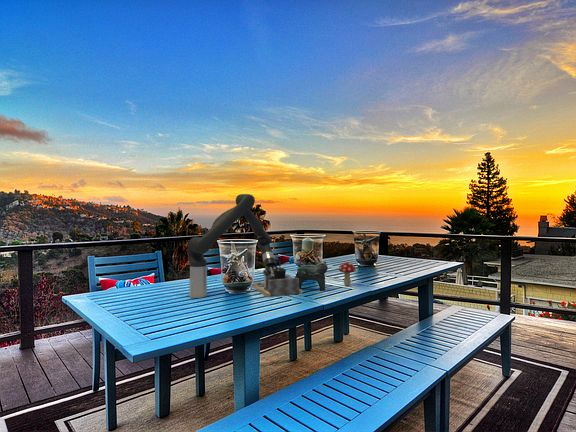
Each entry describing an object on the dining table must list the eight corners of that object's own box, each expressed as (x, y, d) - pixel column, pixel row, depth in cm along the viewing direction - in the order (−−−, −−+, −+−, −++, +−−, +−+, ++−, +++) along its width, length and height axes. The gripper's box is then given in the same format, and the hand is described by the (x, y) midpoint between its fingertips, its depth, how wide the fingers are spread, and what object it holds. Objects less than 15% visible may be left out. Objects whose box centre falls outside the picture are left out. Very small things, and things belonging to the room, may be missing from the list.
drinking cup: (281, 294, 198) (281, 260, 197) (270, 292, 202) (270, 259, 201) (288, 291, 204) (288, 258, 204) (277, 290, 208) (278, 257, 208)
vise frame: (266, 297, 191) (266, 281, 191) (251, 286, 220) (251, 272, 220) (302, 293, 200) (302, 278, 199) (282, 283, 228) (282, 269, 228)
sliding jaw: (265, 292, 202) (265, 276, 202) (264, 290, 205) (264, 276, 205) (290, 289, 208) (290, 275, 208) (288, 288, 211) (288, 274, 211)
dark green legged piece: (327, 289, 211) (327, 257, 211) (327, 291, 205) (327, 258, 204) (295, 288, 213) (295, 256, 213) (294, 291, 207) (294, 258, 206)
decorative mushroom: (359, 286, 220) (359, 263, 220) (347, 288, 213) (347, 264, 213) (347, 283, 229) (347, 260, 229) (335, 285, 223) (335, 262, 222)
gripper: (260, 257, 215) (267, 280, 203) (280, 256, 220) (287, 278, 209) (258, 264, 220) (264, 287, 208) (277, 263, 225) (284, 285, 214)
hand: (275, 283), depth 209 cm, fingers closed
